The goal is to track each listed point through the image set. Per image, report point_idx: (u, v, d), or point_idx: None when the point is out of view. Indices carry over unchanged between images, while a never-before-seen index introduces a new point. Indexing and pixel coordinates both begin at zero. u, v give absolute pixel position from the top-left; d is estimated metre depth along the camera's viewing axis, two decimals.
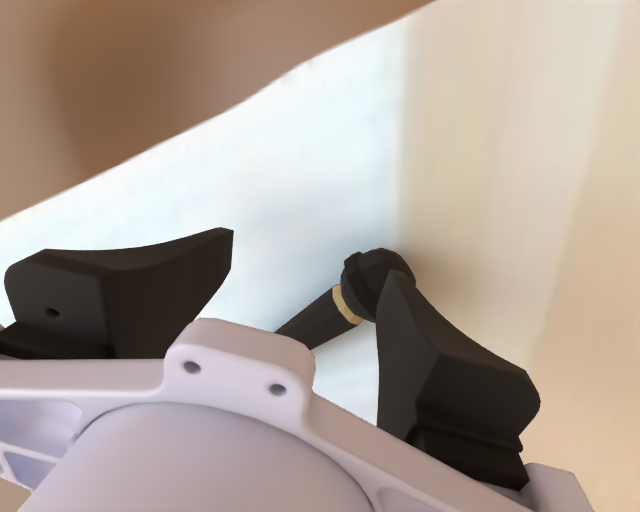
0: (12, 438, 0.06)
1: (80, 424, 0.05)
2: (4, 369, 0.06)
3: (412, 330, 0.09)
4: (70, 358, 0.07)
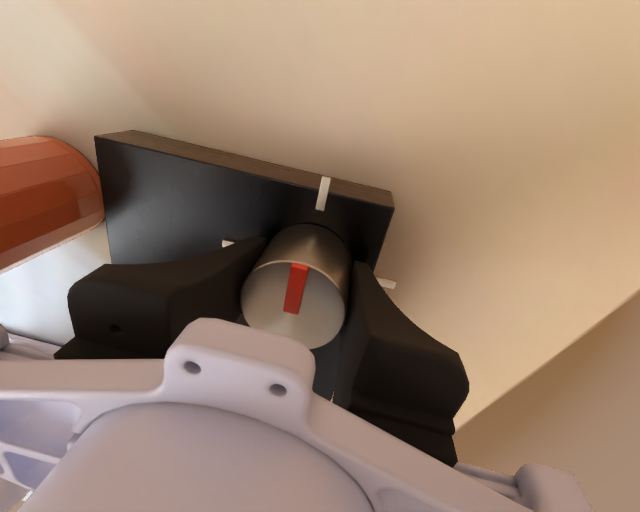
0: (12, 438, 0.06)
1: (80, 424, 0.05)
2: (4, 369, 0.06)
3: (360, 316, 0.09)
4: None
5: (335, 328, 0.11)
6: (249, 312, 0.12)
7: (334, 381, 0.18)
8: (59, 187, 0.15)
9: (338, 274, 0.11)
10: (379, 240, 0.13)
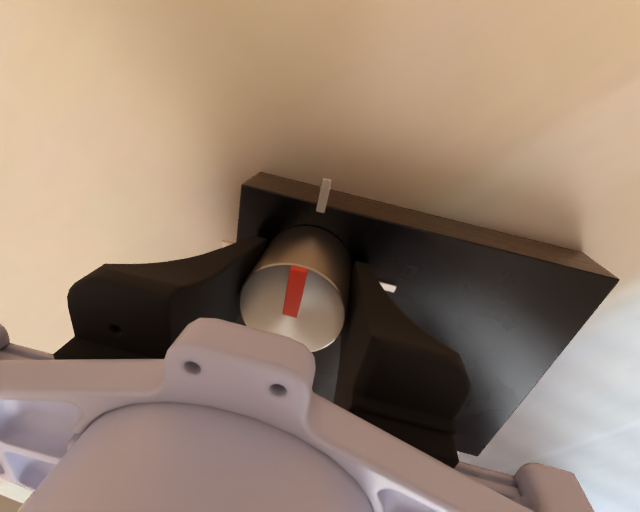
0: (12, 438, 0.06)
1: (80, 424, 0.05)
2: (4, 369, 0.06)
3: (361, 317, 0.09)
4: None
5: (335, 331, 0.11)
6: (249, 315, 0.12)
7: (489, 250, 0.13)
8: None
9: (338, 276, 0.11)
10: (276, 197, 0.13)
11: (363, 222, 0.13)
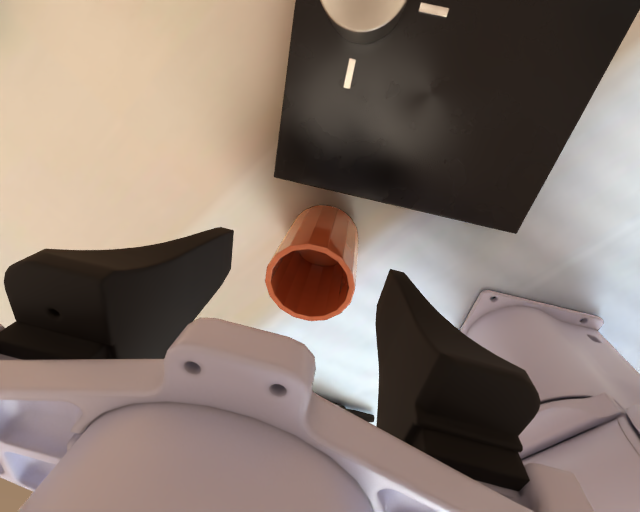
0: (12, 438, 0.06)
1: (80, 424, 0.05)
2: (4, 369, 0.06)
3: (412, 330, 0.09)
4: (70, 358, 0.07)
5: None
6: None
7: None
8: (309, 216, 0.21)
9: None
10: None
11: None
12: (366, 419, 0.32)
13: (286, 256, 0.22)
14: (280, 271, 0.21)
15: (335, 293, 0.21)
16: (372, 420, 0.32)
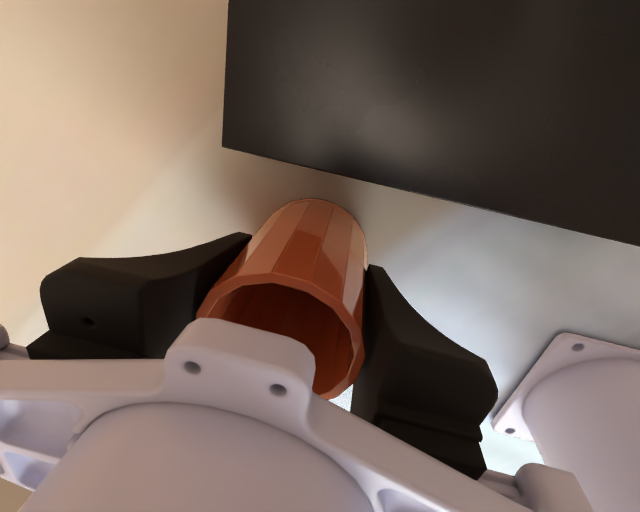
0: (12, 438, 0.06)
1: (80, 424, 0.05)
2: (4, 369, 0.06)
3: (381, 322, 0.09)
4: None
5: None
6: None
7: None
8: (286, 217, 0.13)
9: None
10: None
11: None
12: None
13: None
14: (232, 312, 0.12)
15: (329, 349, 0.12)
16: None
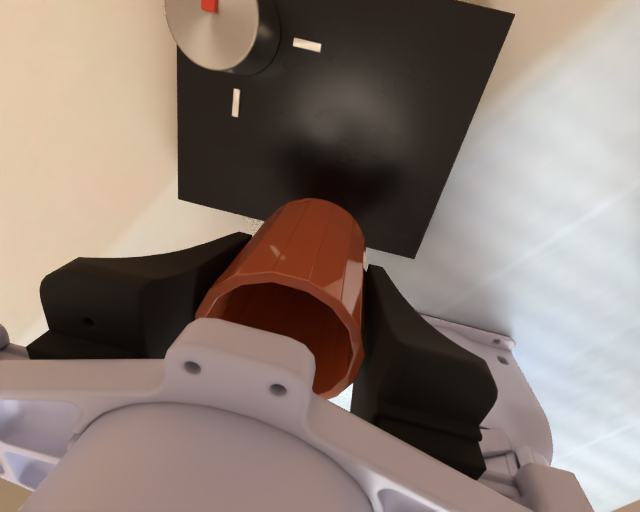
0: (12, 438, 0.06)
1: (80, 424, 0.05)
2: (4, 369, 0.06)
3: (381, 322, 0.09)
4: None
5: (250, 33, 0.13)
6: (174, 23, 0.13)
7: None
8: (285, 216, 0.13)
9: None
10: None
11: None
12: None
13: None
14: (231, 311, 0.12)
15: (328, 349, 0.12)
16: None
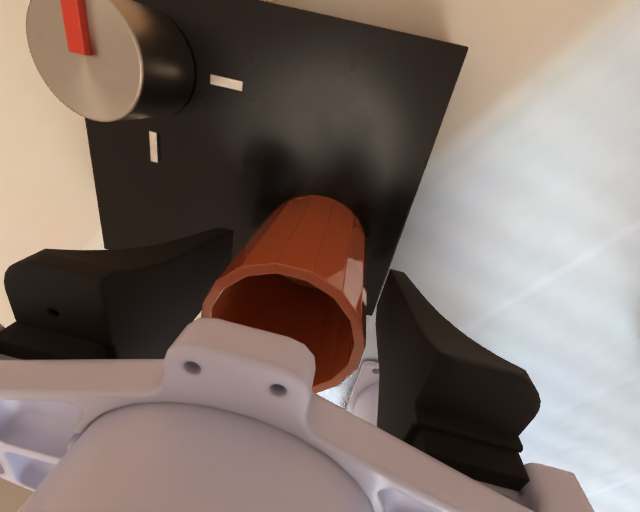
0: (12, 438, 0.06)
1: (80, 424, 0.05)
2: (4, 369, 0.06)
3: (412, 330, 0.09)
4: (70, 358, 0.07)
5: (134, 79, 0.10)
6: (44, 68, 0.11)
7: (328, 20, 0.12)
8: (288, 212, 0.13)
9: (134, 14, 0.10)
10: None
11: None
12: None
13: (251, 276, 0.14)
14: (236, 304, 0.12)
15: (330, 341, 0.12)
16: None
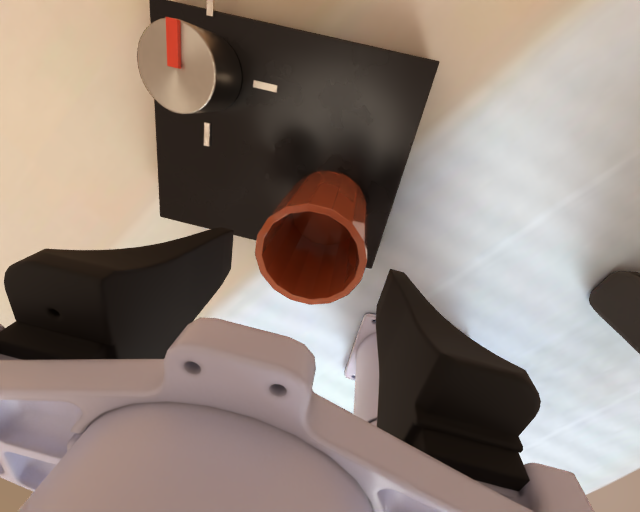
0: (12, 438, 0.06)
1: (81, 424, 0.05)
2: (4, 369, 0.06)
3: (412, 330, 0.09)
4: (70, 358, 0.07)
5: (209, 84, 0.15)
6: (146, 76, 0.15)
7: (340, 42, 0.17)
8: (310, 180, 0.18)
9: (210, 41, 0.15)
10: (176, 6, 0.17)
11: (243, 24, 0.17)
12: None
13: (282, 229, 0.19)
14: (274, 244, 0.17)
15: (341, 272, 0.17)
16: None
